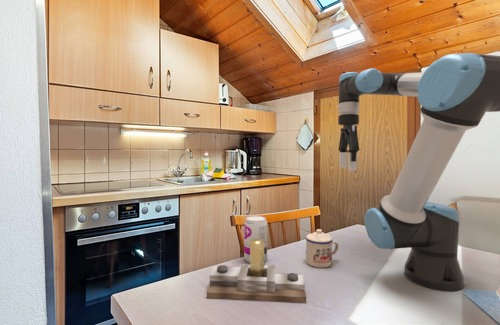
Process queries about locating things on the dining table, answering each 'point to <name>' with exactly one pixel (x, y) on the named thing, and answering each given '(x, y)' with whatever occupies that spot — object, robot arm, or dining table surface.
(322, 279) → the dining table surface
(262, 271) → the brass pin
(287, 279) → the pin insertion fixture
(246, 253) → the supplement can
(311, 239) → the teacup with lid
